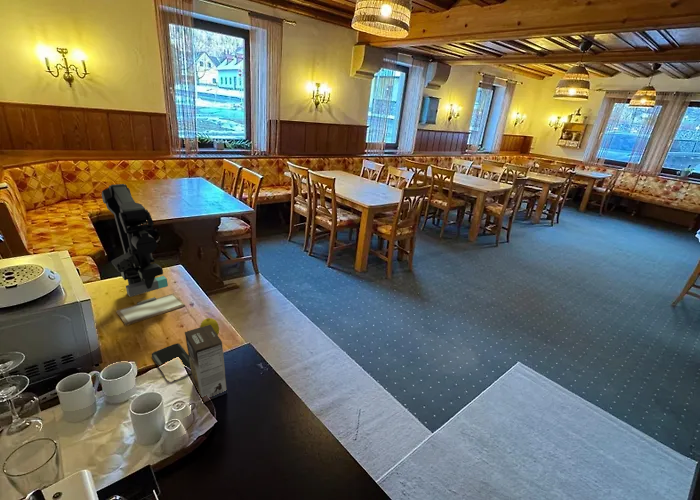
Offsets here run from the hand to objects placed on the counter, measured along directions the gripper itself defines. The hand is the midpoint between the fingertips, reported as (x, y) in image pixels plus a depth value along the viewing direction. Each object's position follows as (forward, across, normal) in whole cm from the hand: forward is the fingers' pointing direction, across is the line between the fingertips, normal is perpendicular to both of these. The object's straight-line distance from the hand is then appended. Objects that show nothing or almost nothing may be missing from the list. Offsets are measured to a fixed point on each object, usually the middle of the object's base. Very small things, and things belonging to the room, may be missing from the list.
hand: (147, 286), depth 119 cm
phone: (+9, +34, -5) cm, 36 cm away
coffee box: (+9, +50, -2) cm, 51 cm away
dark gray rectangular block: (+1, 0, 0) cm, 1 cm away
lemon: (+9, +31, +7) cm, 33 cm away
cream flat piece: (+9, 0, 0) cm, 9 cm away
